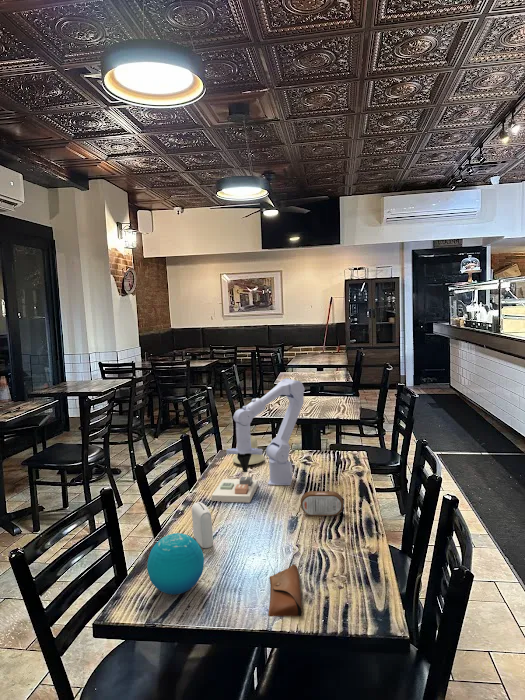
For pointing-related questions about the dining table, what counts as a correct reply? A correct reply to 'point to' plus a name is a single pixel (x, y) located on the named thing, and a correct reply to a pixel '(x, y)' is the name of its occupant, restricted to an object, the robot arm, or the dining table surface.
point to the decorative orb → (175, 563)
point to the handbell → (254, 457)
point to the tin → (321, 503)
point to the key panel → (230, 495)
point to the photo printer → (202, 525)
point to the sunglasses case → (285, 593)
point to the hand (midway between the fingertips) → (245, 471)
